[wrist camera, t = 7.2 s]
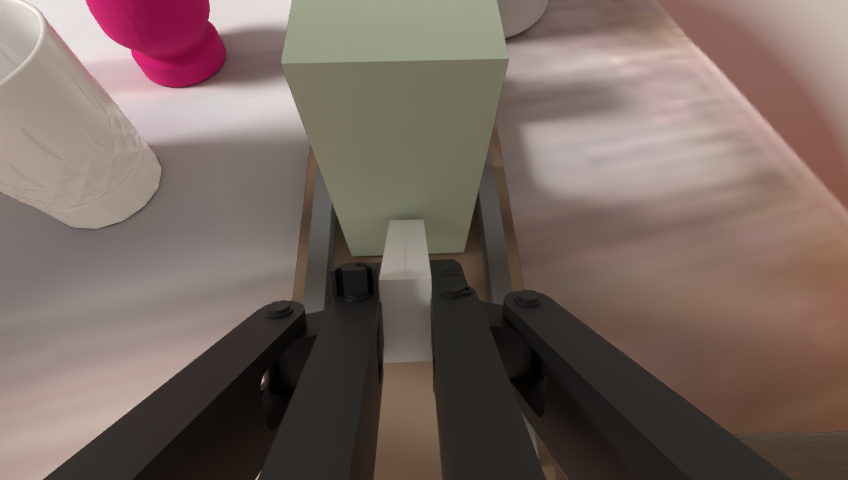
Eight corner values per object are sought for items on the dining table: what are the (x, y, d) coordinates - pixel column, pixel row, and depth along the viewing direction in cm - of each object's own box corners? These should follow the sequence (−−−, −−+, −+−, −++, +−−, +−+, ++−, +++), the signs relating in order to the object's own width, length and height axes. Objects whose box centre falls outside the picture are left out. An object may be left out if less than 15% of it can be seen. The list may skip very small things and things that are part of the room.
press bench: (549, 514, 18) (680, 590, 9) (280, 529, 17) (133, 622, 8) (481, 79, 30) (506, -70, 22) (326, 82, 30) (286, -68, 21)
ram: (472, 252, 21) (527, 58, 10) (342, 256, 21) (261, 63, 10) (464, 176, 23) (502, -47, 13) (346, 180, 23) (284, -43, 12)
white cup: (97, 128, 28) (-55, -19, 19) (195, 153, 27) (83, 12, 18) (14, 220, 24) (-219, 93, 15) (124, 253, 23) (-58, 138, 14)
